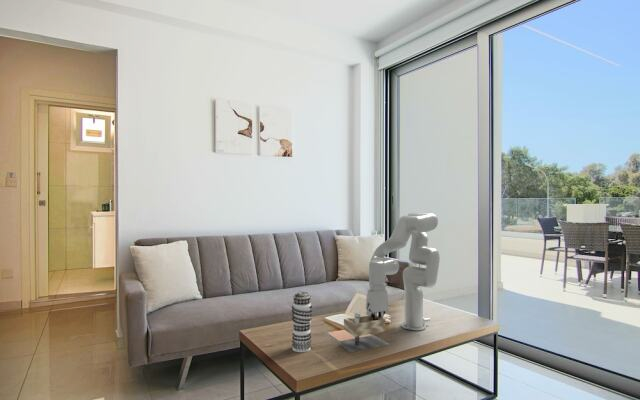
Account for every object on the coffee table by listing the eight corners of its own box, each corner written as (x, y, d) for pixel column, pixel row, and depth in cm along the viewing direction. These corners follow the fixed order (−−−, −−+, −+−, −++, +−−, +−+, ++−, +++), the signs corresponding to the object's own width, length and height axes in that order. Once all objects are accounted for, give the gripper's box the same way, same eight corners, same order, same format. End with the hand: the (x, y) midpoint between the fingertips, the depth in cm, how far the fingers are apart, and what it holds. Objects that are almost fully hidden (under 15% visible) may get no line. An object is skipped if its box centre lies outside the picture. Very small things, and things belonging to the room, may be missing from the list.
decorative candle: (300, 343, 181) (301, 289, 181) (316, 348, 175) (316, 292, 175) (287, 348, 174) (287, 293, 174) (302, 354, 168) (302, 296, 168)
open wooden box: (373, 324, 187) (373, 313, 187) (385, 330, 178) (385, 319, 178) (344, 329, 180) (343, 318, 180) (355, 336, 171) (355, 325, 171)
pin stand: (359, 329, 201) (360, 299, 201) (390, 346, 178) (390, 312, 178) (323, 335, 192) (323, 303, 192) (350, 354, 168) (350, 318, 168)
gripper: (386, 283, 188) (386, 321, 189) (358, 287, 182) (359, 326, 182) (395, 286, 182) (396, 325, 182) (367, 291, 175) (368, 331, 175)
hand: (377, 325), depth 182 cm, fingers closed on open wooden box, 1 cm apart
